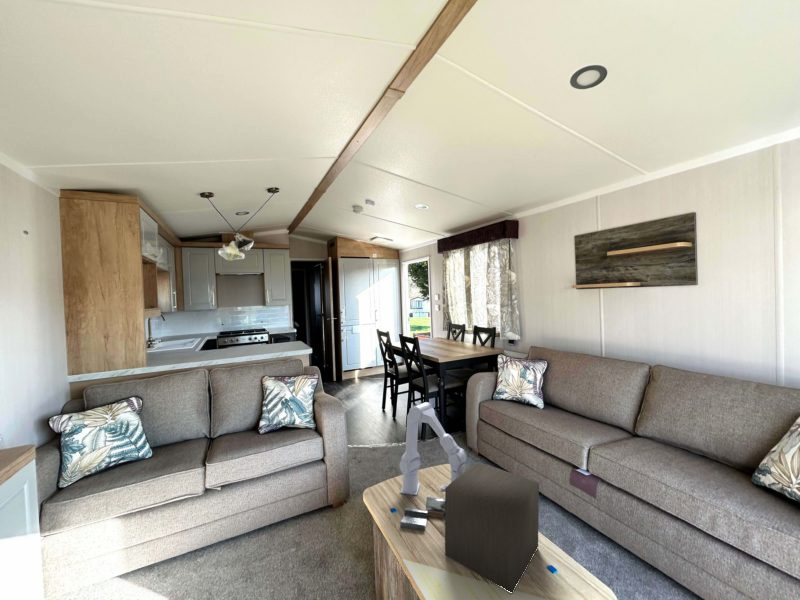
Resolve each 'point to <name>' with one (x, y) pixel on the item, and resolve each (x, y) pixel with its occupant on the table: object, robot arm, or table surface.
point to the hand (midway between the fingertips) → (457, 509)
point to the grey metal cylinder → (435, 504)
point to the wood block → (492, 523)
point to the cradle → (414, 519)
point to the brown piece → (435, 514)
